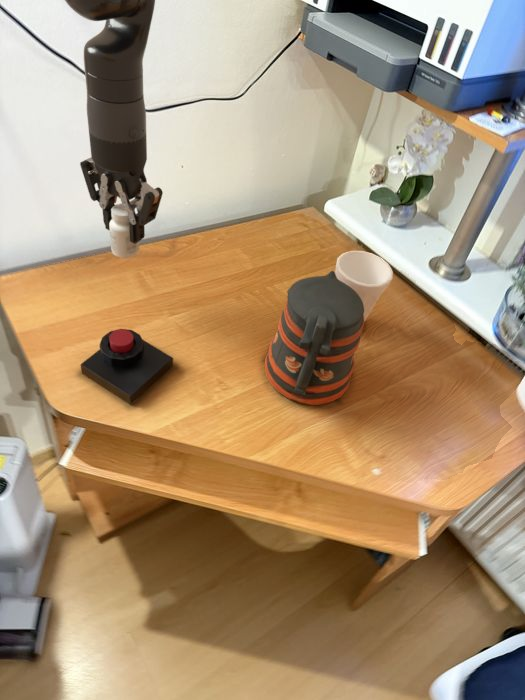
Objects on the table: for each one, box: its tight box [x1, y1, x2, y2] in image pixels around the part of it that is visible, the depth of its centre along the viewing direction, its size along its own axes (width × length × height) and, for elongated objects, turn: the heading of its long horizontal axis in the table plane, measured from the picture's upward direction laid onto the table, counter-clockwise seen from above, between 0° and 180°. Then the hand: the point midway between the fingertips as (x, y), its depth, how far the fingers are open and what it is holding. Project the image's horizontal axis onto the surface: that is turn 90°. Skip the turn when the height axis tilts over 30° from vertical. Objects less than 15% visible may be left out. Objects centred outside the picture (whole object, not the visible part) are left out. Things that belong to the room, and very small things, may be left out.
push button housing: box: [80, 328, 174, 406], centre depth 81 cm, size 10×10×4 cm
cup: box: [334, 250, 394, 323], centre depth 93 cm, size 10×10×13 cm
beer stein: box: [264, 270, 366, 406], centre depth 79 cm, size 19×15×20 cm
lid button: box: [109, 328, 134, 354], centre depth 81 cm, size 4×4×2 cm
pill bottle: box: [109, 203, 140, 259], centre depth 81 cm, size 4×4×8 cm
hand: (124, 233), depth 81 cm, fingers closed on pill bottle, 4 cm apart
